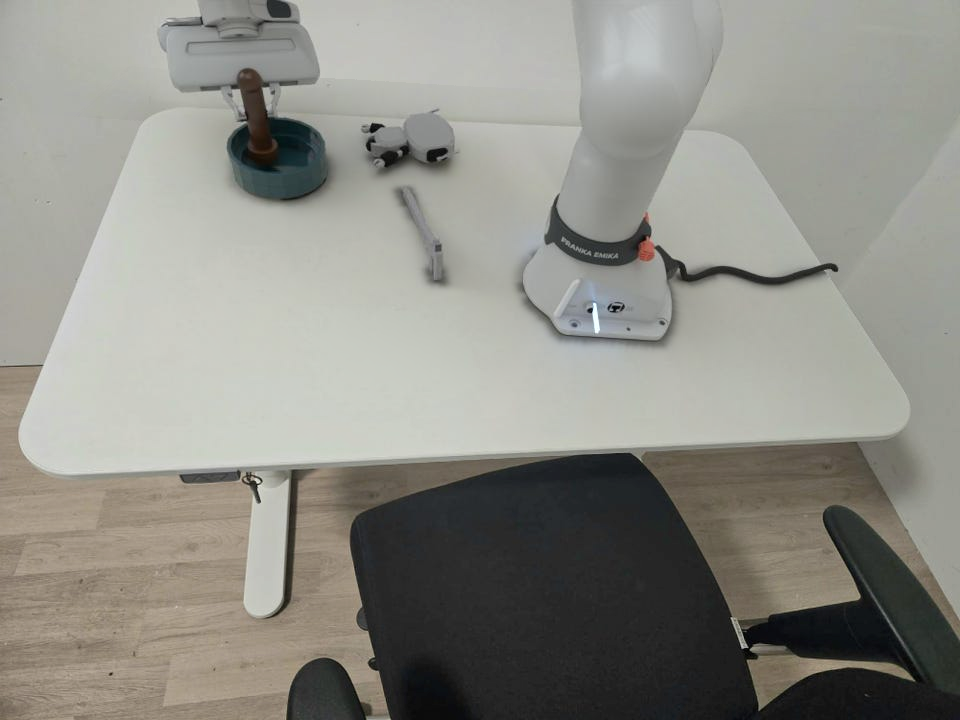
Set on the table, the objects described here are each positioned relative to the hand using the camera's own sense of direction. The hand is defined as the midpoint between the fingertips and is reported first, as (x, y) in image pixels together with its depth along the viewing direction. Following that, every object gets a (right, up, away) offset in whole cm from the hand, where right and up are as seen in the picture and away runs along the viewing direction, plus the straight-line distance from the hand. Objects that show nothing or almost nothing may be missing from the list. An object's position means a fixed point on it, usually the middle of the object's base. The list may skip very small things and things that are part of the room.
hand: (257, 119), depth 84 cm
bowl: (+1, -5, +8) cm, 9 cm away
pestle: (-1, -3, +6) cm, 7 cm away
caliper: (+23, -16, +4) cm, 28 cm away
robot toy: (+20, 0, +15) cm, 25 cm away
